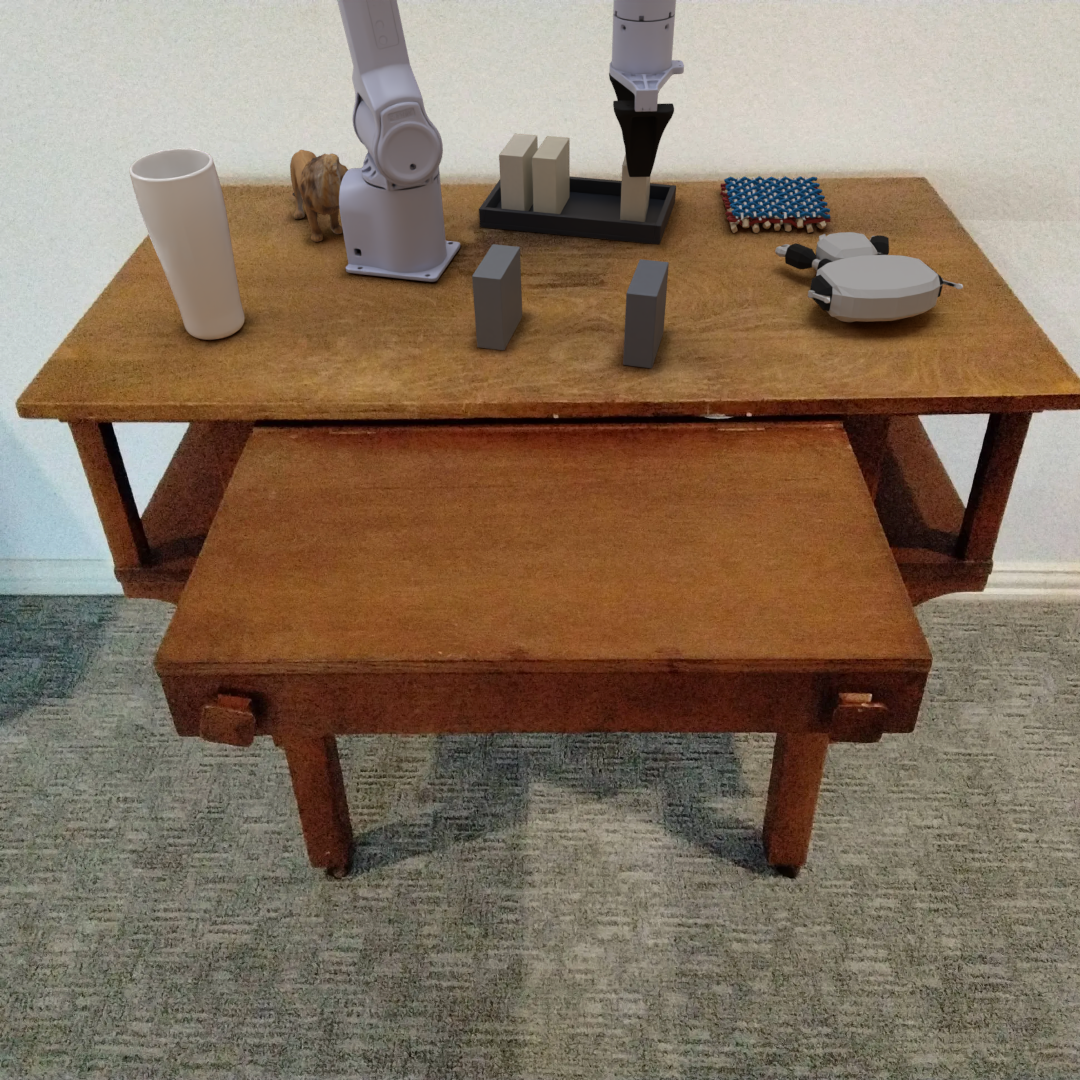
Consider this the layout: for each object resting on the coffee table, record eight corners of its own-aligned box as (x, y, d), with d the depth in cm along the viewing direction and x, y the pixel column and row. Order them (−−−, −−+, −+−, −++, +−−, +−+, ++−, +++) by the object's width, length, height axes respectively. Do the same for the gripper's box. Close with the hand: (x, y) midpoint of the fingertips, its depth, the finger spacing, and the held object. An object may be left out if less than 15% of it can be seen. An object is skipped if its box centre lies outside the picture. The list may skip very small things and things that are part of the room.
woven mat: (717, 191, 108) (719, 173, 107) (813, 191, 107) (816, 173, 106) (726, 233, 100) (728, 214, 99) (830, 233, 100) (834, 214, 98)
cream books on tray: (501, 215, 103) (498, 154, 99) (517, 192, 108) (514, 133, 103) (556, 220, 102) (555, 159, 98) (569, 197, 106) (569, 137, 102)
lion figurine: (373, 242, 100) (360, 155, 94) (325, 256, 98) (309, 168, 92) (315, 194, 110) (300, 112, 103) (271, 206, 107) (253, 122, 101)
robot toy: (763, 275, 95) (823, 344, 84) (769, 230, 92) (831, 295, 81) (882, 263, 97) (957, 330, 85) (891, 218, 94) (969, 281, 82)
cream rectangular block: (619, 227, 101) (622, 164, 96) (625, 203, 105) (628, 142, 101) (643, 228, 100) (647, 166, 96) (648, 204, 105) (652, 143, 100)
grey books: (477, 347, 85) (471, 276, 80) (496, 313, 89) (492, 243, 85) (652, 368, 82) (657, 296, 77) (663, 332, 86) (668, 261, 82)
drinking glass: (218, 354, 85) (170, 186, 75) (162, 335, 88) (108, 170, 77) (269, 319, 89) (231, 155, 79) (214, 302, 92) (170, 141, 82)
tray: (479, 227, 103) (478, 208, 101) (506, 188, 110) (505, 170, 108) (659, 244, 99) (661, 225, 97) (675, 203, 106) (676, 185, 105)
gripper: (696, 35, 84) (683, 189, 93) (679, -9, 95) (669, 133, 104) (614, 37, 84) (610, 190, 94) (607, -7, 95) (603, 134, 104)
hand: (636, 160), depth 99 cm, fingers open, 7 cm apart
